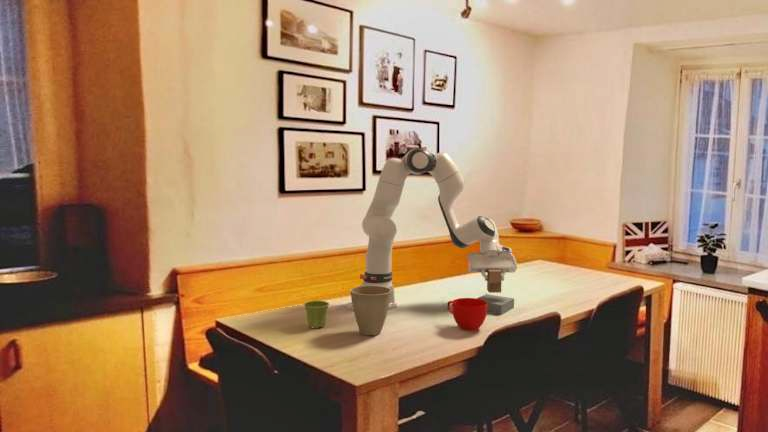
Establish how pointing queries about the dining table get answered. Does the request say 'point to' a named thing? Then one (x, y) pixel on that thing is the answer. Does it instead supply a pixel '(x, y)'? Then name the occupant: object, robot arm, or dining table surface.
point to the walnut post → (494, 280)
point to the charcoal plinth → (498, 303)
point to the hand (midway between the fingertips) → (494, 280)
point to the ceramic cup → (468, 312)
